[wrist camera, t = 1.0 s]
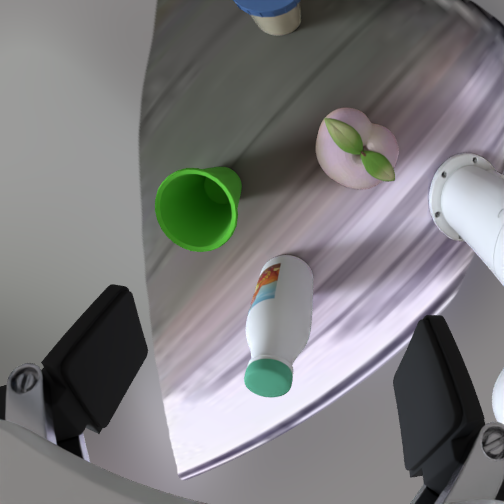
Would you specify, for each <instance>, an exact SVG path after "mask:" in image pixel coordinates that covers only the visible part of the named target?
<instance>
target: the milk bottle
mask: <svg viewBox="0 0 504 504" xmlns="http://www.w3.org/2000/svg"><path fill="white" fill-rule="evenodd" d="M312 308H313V274H312V271H311V269H310V267H309V266H308V265H307V264H306V263H305V262H304V261H303V260H302V259H300V258H298V257H295V256H291V255H281V256H277V257H275V258H272V259H271V260H269V261H268V262H267V263H266V264H265V265H264V267H263V269H262V271H261V274H260V277H259V280H258V283H257V286H256V290H255V293H254V296H253V299H252V302H251V306H250V309H249V313H248V317H247V322H246V337H247V341H248V345H249V348H250V351H251V357H252V359H251V360H250V361H249V363H248V367H247V369H246V373H245V377H244V382H245V385H246V387H247V388H248V389H249V390H250V391H252V392H253V393H255V394H257V395H260V396H264V397H278V396H282V395H284V394H286V393H287V392H288V391H289V390H290V388H291V385H292V378H293V367H292V364H293V362H294V361H295V359H296V358H297V356H298V355H299V354H300V353H301V352H302V350H303V349H304V347H305V346H306V344H307V341H308V339H309V335H310V331H311V323H312Z"/></svg>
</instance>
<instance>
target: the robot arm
mask: <svg viewBox="0 0 504 504" xmlns="http://www.w3.org/2000/svg"><path fill="white" fill-rule="evenodd" d="M442 172H443V175H442ZM429 209H430V213H431V216H432V219H433V221H434V223H435V224H436V226H437V227H438V229H439V230H440V231H441V232H442V233H443V234H444V235H446V236H447V237H448V238H451V239H453V240H456V241H465V242H466V243H467V244H468V245H469V246H470V247H471V248H472V249H473V250H474V252H475V253H476V254H477V255H478V256H479V257H480V258H481V259H482V261H483V262H484V263H485V264H486V265H487V266H488V268H489V269H490V270H491V271H492V272H493V274H494V275H495V276H496V277H497V279H498V280H499V281H500V282H501V283H502V284H503V286H504V174H503V175H502V174H500V173H498V172H496V170H495V169H494V167H493V166H492V165H491V164H490V162H488V161H487V160H486V159H485V158H483V157H481V156H479V155H476V154H473V153H460V154H456V155H454V156H452V157H450V158H449V159H447V160H446V161H445V162H444V163H443V164H442V165H441V166H440V167H439V169H438V170H437V172H436V174H435V175H434V178H433V180H432V183H431V186H430V191H429ZM436 212H437V213H436ZM435 213H436V214H435ZM147 353H148V349H147V345H146V341H145V338H144V334H143V331H142V328H141V324H140V321H139V317H138V313H137V309H136V306H135V302H134V298H133V295H132V293H131V292H130V291H129V289H128V288H127V287H125V286H120V285H110V286H108V287H107V288H106V290H104V292H103V293H102V294H101V295H100V296H99V297H98V298H97V299H96V300H95V301H94V302H93V303H92V304H91V305H90V307H89V308H88V309H87V310H86V311H85V312H84V313H83V314H82V315H81V317H80V318H79V319H78V320H77V321H76V322H75V323H74V325H73V326H72V327H71V328H70V329H69V330H68V331H67V332H66V334H65V335H64V336H63V337H62V338H61V340H60V341H59V342H58V343H57V344H56V345H55V346H54V348H53V349H52V350H51V351H50V352H49V354H48V355H47V356H46V357H45V358H44V360H43V361H42V362H41V363H42V364H43V366H44V368H43V369H42V370H41V369H40V367H39V366H37V365H35V364H33V363H25V364H22V365H20V366H18V367H17V368H15V369H14V370H13V371H12V372H11V374H10V376H9V377H8V381H7V385H4V386H1V387H0V504H207V503H203V502H198V501H194V500H190V499H186V498H183V497H180V496H176V495H173V494H169V493H166V492H163V491H160V490H157V489H154V488H151V487H148V486H145V485H142V484H139V483H137V482H134V481H132V480H129V479H126V478H124V477H121V476H119V475H116V474H114V473H112V472H110V471H107V470H105V469H103V468H101V467H98V466H96V465H94V464H92V463H90V460H89V456H88V452H87V448H86V444H85V439H84V435H83V431H84V430H85V428H88V429H90V430H92V431H94V432H96V433H98V434H99V433H100V432H101V430H102V428H105V427H106V426H107V425H108V424H109V422H110V420H111V418H112V417H113V415H114V413H115V411H116V409H117V408H118V406H119V404H120V402H121V400H122V398H123V397H124V395H125V393H126V392H127V390H128V388H129V386H130V385H131V383H132V381H133V379H134V378H135V376H136V374H137V372H138V371H139V369H140V367H141V366H142V364H143V362H144V360H145V359H146V357H147ZM393 384H394V391H395V396H396V402H397V409H398V415H399V422H400V428H401V436H402V444H403V453H404V462H405V468H406V469H407V470H409V471H410V477H417V476H423V480H424V485H423V486H422V488H421V489H420V490H419V492H418V493H417V495H416V496H415V498H414V499H413V500H412V501H411V503H410V504H504V368H503V370H502V372H501V373H500V375H499V377H498V378H497V381H496V383H495V386H494V389H493V394H492V406H493V411H494V414H495V417H496V419H497V421H498V422H490V423H487V424H486V425H485V422H484V415H483V412H482V409H481V406H480V403H479V400H478V398H477V395H476V392H475V389H474V386H473V384H472V381H471V378H470V376H469V373H468V371H467V368H466V366H465V363H464V361H463V358H462V356H461V354H460V351H459V349H458V347H457V345H456V342H455V340H454V338H453V336H452V334H451V331H450V329H449V327H448V325H447V323H446V321H445V319H444V317H443V316H440V315H426V316H425V317H424V318H423V320H420V321H419V322H418V324H417V327H416V329H415V331H414V334H413V336H412V339H411V341H410V343H409V345H408V348H407V350H406V352H405V354H404V357H403V359H402V361H401V363H400V365H399V367H398V370H397V371H396V373H395V376H394V380H393Z"/></svg>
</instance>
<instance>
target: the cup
mask: <svg viewBox="0 0 504 504" xmlns="http://www.w3.org/2000/svg"><path fill="white" fill-rule="evenodd" d="M241 189H242V184H241V180H240V178H239V176H238V175H237V174H236V173H235V172H234V171H233V170H231V169H230V168H227V167H214V168H207V169H199V168H186V169H182V170H178V171H176V172H174V173H172V174H171V175H169V176H168V177H167V178H166V179H165V180H164V181H163V182H162V184H161V186H160V187H159V189H158V192H157V195H156V199H155V212H156V216H157V220H158V222H159V225H160V227H161V229H162V230H163V232H164V233H165V234H166V236H167V237H168V238H169V239H170V240H172V241H173V242H174V243H175V244H177V245H179V246H180V247H182V248H185V249H187V250H190V251H197V252H204V251H211V250H214V249H216V248H219V247H220V246H222V245H223V244H225V243H226V242H227V241H228V240H229V238H230V237H231V236H232V235H233V233H234V230H235V228H236V225H237V218H238V211H237V207H238V203H239V199H240V195H241Z"/></svg>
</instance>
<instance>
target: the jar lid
mask: <svg viewBox="0 0 504 504" xmlns="http://www.w3.org/2000/svg"><path fill="white" fill-rule="evenodd" d="M233 1H234V2H235V3H236V4H237V6H238V7H239V8H240V9H242V10H243V11H245V12H247V13H249V15H254V16H258V17H261V18H263V17H275V16H279V15H282V14H285V13H287V12H289V11H291V10H292V9H293V8H295V7H297V4H298V3H299V2H300V0H233Z"/></svg>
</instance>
